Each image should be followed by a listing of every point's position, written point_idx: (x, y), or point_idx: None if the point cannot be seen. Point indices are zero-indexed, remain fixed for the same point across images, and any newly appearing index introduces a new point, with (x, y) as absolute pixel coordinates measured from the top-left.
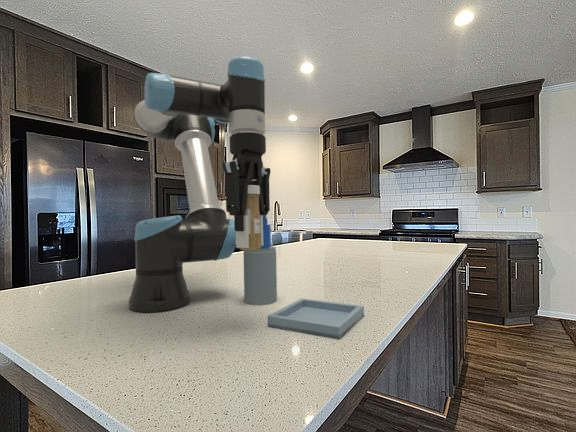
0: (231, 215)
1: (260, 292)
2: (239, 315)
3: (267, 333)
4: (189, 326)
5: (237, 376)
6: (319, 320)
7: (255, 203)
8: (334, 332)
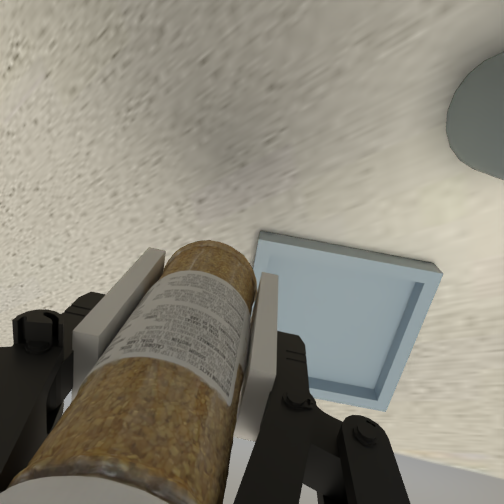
0: (49, 312)
1: (465, 142)
2: (325, 122)
3: None
4: (199, 27)
5: (47, 264)
6: (309, 329)
7: None
8: None
